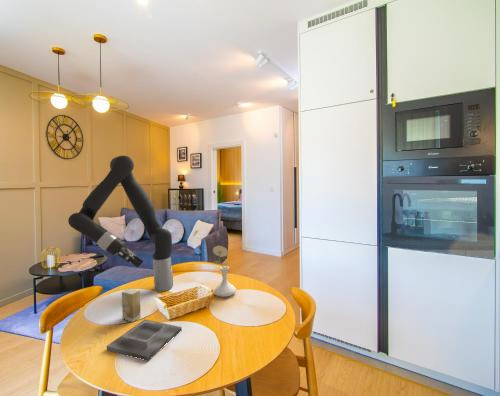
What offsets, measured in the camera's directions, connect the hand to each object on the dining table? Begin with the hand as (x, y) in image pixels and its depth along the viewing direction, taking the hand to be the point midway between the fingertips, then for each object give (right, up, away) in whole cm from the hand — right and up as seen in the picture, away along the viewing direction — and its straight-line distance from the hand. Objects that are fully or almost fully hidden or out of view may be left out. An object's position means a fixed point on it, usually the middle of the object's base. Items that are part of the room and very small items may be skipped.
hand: (140, 264), depth 118 cm
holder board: (+13, -22, -24) cm, 35 cm away
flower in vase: (+37, -19, +13) cm, 44 cm away
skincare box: (0, -21, -9) cm, 23 cm away
